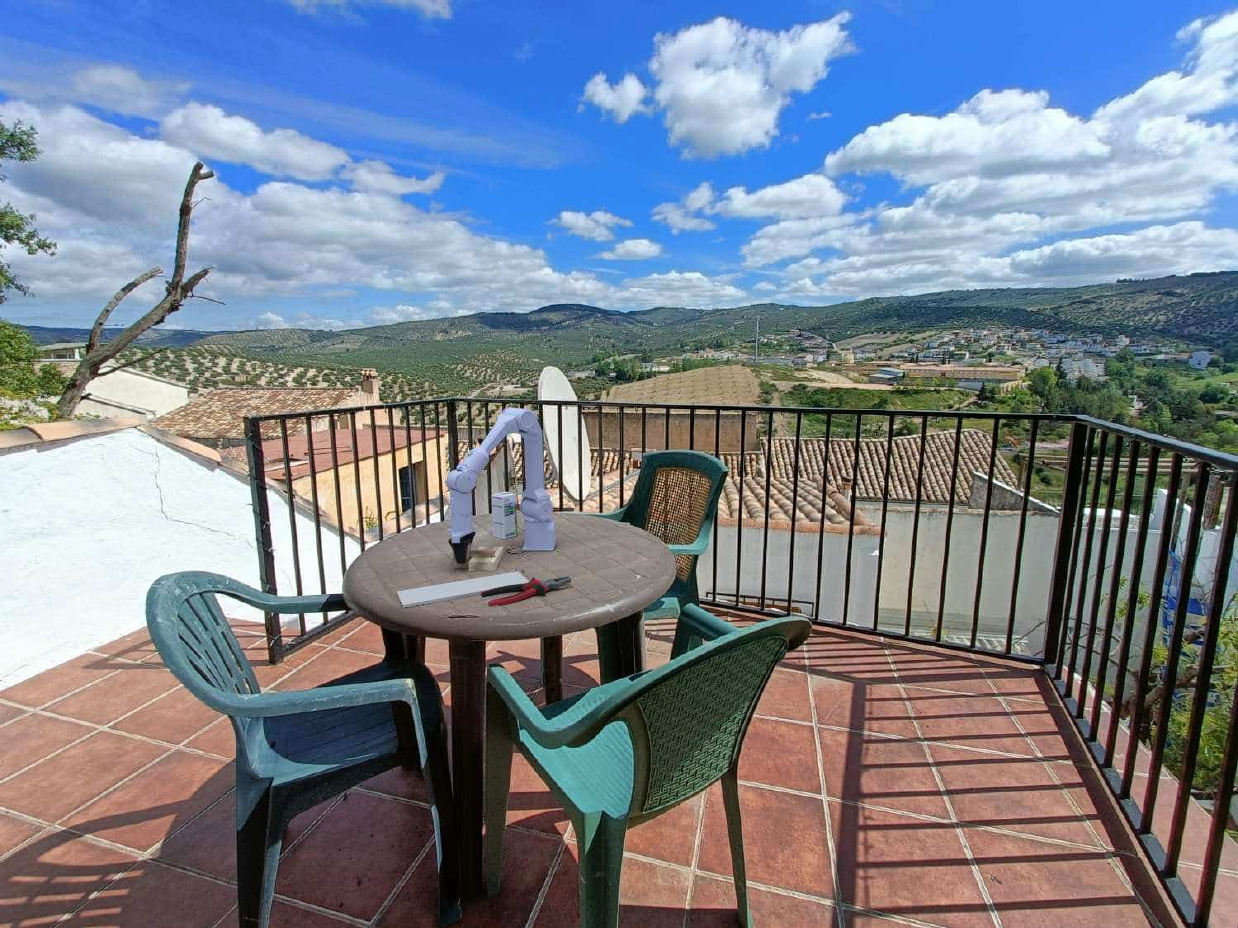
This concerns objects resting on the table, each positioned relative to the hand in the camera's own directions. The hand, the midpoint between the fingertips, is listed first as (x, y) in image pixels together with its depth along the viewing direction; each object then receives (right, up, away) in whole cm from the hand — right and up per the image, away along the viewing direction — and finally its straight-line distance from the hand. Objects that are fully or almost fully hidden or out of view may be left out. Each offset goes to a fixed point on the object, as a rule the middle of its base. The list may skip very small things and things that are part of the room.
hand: (463, 560), depth 161 cm
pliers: (+21, -5, -19) cm, 29 cm away
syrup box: (+6, +3, +29) cm, 30 cm away
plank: (+6, -1, +3) cm, 7 cm away
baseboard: (+5, -5, -16) cm, 18 cm away
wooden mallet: (+3, -2, 0) cm, 4 cm away
